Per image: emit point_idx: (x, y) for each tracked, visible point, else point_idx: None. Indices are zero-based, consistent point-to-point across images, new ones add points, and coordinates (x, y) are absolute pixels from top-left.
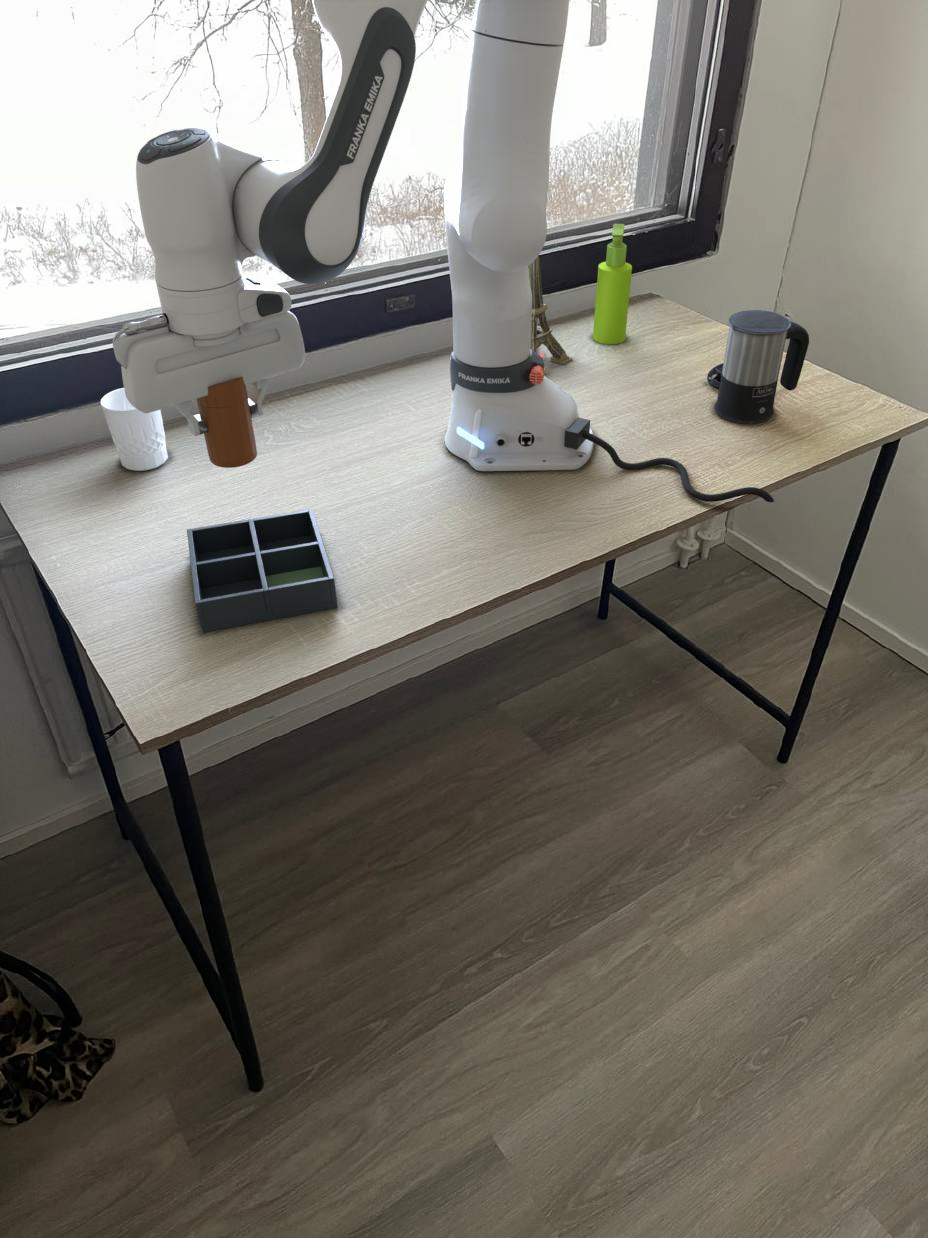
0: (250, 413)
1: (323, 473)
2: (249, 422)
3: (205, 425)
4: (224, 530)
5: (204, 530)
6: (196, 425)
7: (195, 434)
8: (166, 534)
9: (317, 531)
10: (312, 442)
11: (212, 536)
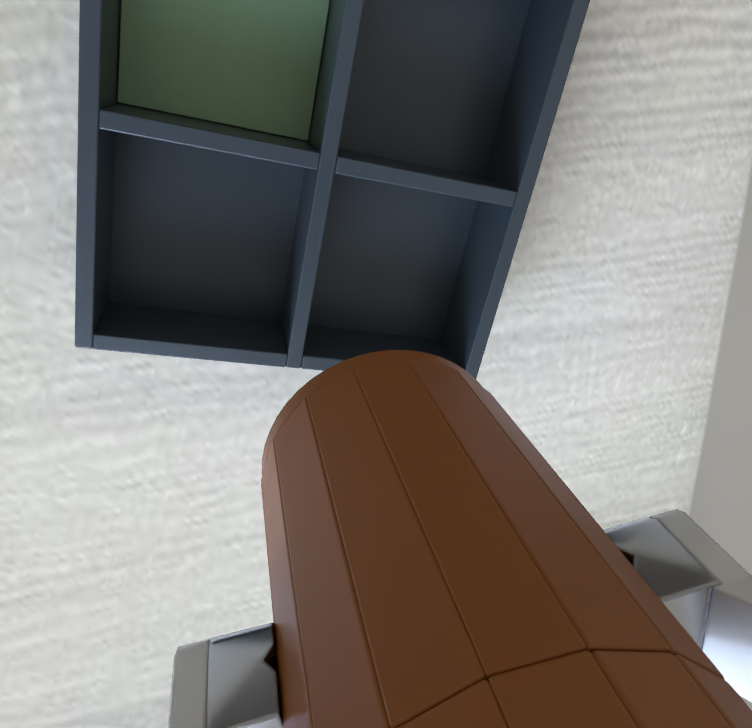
0: (281, 649)
1: (8, 593)
2: (315, 555)
3: (640, 561)
4: None
5: None
6: (716, 557)
7: (681, 515)
8: None
9: (84, 196)
10: (13, 723)
11: None
